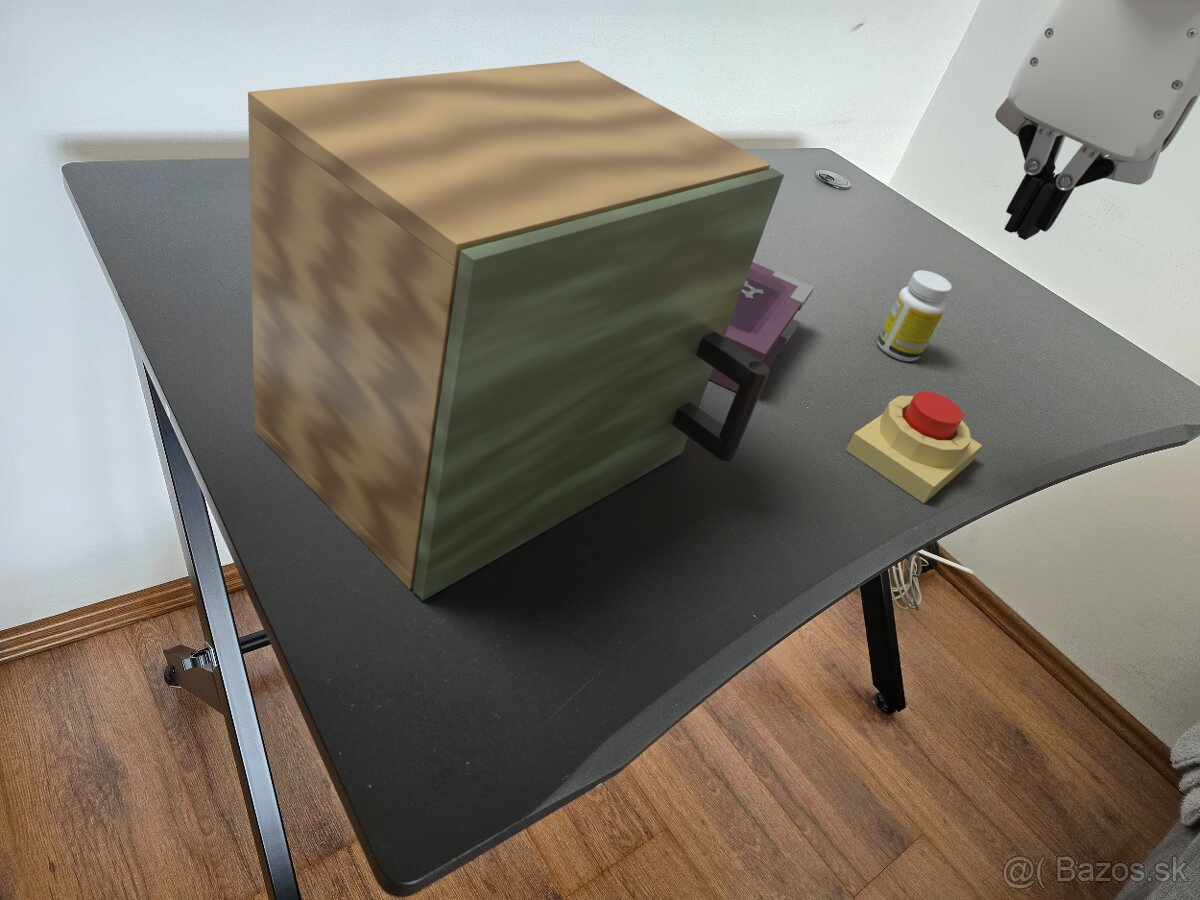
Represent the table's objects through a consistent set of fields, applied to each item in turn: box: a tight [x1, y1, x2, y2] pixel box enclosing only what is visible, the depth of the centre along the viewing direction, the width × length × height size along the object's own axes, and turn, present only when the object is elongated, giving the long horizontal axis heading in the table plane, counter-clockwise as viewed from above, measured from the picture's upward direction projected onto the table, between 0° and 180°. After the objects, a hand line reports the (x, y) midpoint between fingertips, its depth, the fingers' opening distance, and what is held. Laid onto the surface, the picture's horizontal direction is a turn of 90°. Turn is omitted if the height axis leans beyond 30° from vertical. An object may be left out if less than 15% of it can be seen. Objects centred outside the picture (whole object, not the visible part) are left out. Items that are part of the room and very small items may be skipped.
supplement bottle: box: [876, 269, 953, 362], centre depth 94 cm, size 5×5×8 cm
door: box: [412, 168, 785, 601], centre depth 57 cm, size 6×26×24 cm, turn 137°
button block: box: [845, 395, 983, 504], centre depth 80 cm, size 10×8×4 cm
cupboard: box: [247, 60, 771, 590], centre depth 62 cm, size 18×26×24 cm
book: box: [709, 261, 815, 393], centre depth 90 cm, size 25×16×5 cm, turn 64°
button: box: [904, 390, 964, 440], centre depth 79 cm, size 4×4×2 cm
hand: (1021, 230), depth 65 cm, fingers closed
